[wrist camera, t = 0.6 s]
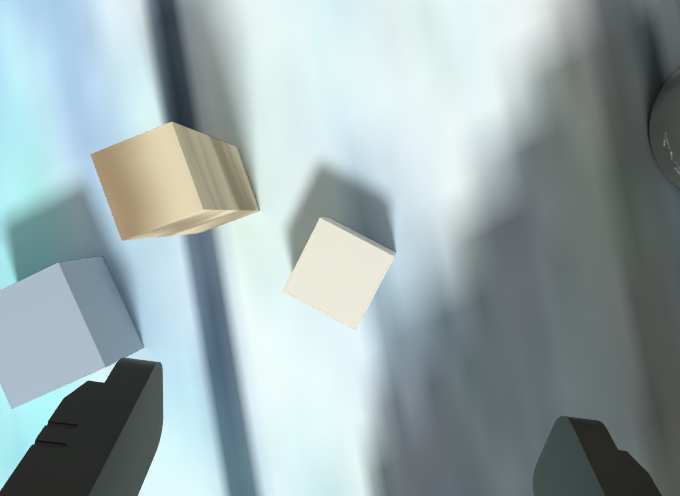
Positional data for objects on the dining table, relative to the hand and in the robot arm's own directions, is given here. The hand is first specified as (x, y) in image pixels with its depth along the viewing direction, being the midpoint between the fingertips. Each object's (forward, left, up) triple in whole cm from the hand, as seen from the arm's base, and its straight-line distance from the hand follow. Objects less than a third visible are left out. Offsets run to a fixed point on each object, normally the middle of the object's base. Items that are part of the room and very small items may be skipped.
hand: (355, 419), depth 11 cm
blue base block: (+20, -10, -25) cm, 33 cm away
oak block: (+6, -11, -24) cm, 28 cm away
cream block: (+2, -2, -25) cm, 25 cm away
